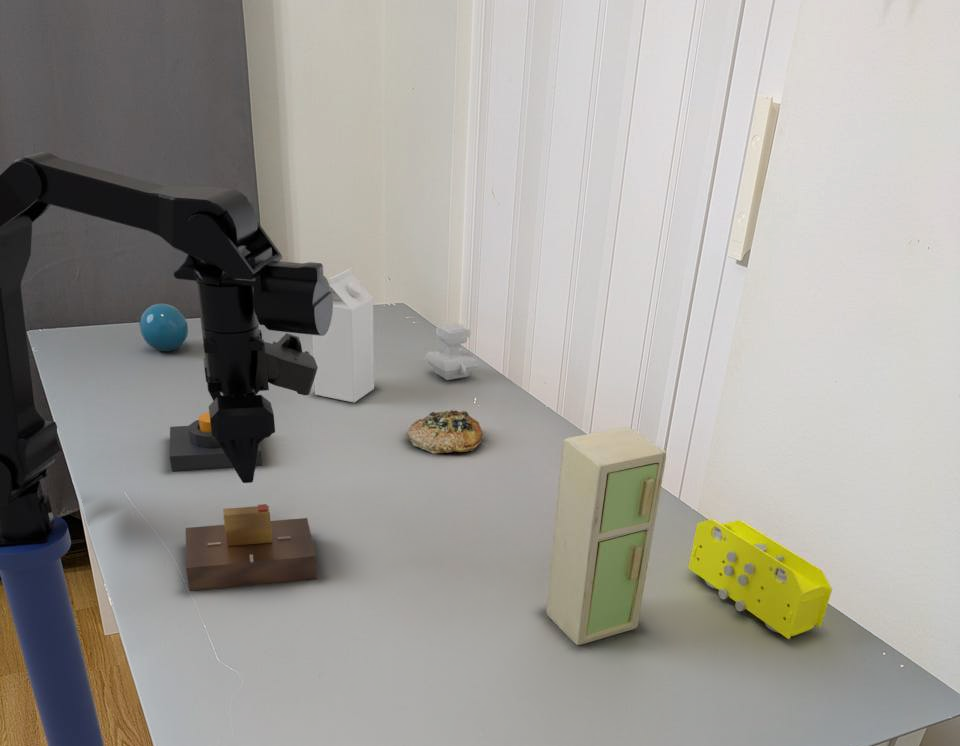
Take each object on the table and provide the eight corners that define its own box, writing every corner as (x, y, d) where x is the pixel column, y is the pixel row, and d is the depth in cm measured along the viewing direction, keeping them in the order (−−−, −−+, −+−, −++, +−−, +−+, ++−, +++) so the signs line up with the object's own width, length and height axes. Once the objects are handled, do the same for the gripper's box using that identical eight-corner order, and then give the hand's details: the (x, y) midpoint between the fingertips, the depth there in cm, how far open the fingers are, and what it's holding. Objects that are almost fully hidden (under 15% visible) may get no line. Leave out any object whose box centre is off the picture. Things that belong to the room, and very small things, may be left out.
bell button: (200, 434, 129) (198, 422, 128) (199, 424, 132) (198, 412, 131) (227, 433, 130) (226, 421, 129) (226, 422, 133) (224, 411, 132)
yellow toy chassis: (684, 575, 112) (696, 512, 107) (719, 563, 114) (733, 502, 110) (783, 646, 101) (802, 580, 96) (820, 632, 103) (840, 567, 99)
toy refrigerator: (579, 651, 98) (603, 467, 87) (543, 614, 104) (561, 436, 92) (642, 633, 102) (673, 453, 90) (604, 598, 107) (629, 424, 95)
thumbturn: (227, 546, 106) (223, 513, 104) (226, 539, 108) (222, 506, 105) (272, 542, 108) (269, 509, 105) (271, 535, 109) (268, 503, 107)
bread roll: (464, 419, 147) (466, 390, 143) (494, 457, 139) (497, 428, 136) (397, 431, 143) (397, 402, 139) (425, 471, 135) (426, 441, 132)
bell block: (171, 471, 128) (167, 443, 126) (172, 440, 136) (168, 414, 134) (262, 465, 131) (259, 438, 129) (257, 435, 139) (255, 410, 136)
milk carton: (314, 395, 152) (308, 275, 142) (336, 381, 158) (332, 264, 147) (354, 403, 150) (350, 282, 140) (374, 389, 156) (372, 271, 145)
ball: (144, 343, 169) (137, 298, 164) (190, 341, 171) (185, 297, 166) (142, 358, 163) (134, 312, 158) (190, 357, 164) (184, 310, 160)
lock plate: (189, 591, 104) (185, 567, 102) (188, 549, 111) (185, 526, 110) (317, 579, 107) (315, 555, 106) (308, 539, 115) (307, 516, 113)
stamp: (421, 370, 164) (422, 322, 159) (454, 365, 167) (456, 317, 163) (448, 388, 158) (449, 338, 153) (481, 381, 161) (483, 332, 156)
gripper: (321, 351, 91) (328, 495, 100) (298, 295, 106) (307, 425, 115) (202, 357, 89) (220, 505, 97) (196, 299, 103) (212, 432, 112)
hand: (244, 463), depth 106 cm, fingers open, 9 cm apart
